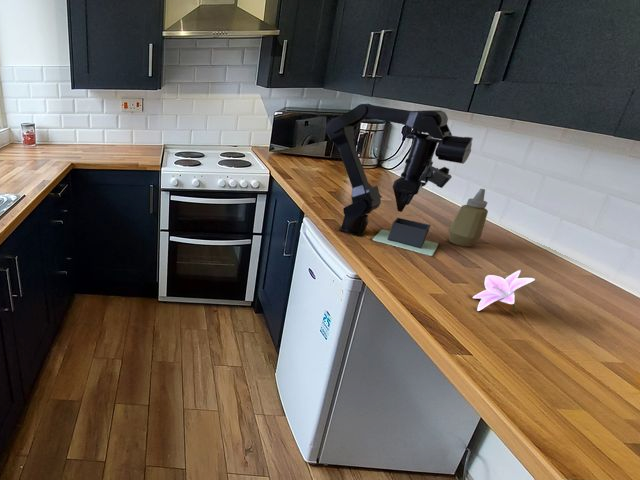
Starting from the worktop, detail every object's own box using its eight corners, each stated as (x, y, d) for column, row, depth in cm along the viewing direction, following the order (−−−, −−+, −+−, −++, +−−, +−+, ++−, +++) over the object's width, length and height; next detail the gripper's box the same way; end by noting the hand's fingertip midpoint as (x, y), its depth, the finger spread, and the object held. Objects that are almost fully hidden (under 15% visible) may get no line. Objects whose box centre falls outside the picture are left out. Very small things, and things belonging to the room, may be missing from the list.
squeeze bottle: (465, 239, 131) (487, 186, 124) (482, 249, 124) (507, 194, 117) (439, 237, 132) (459, 184, 125) (455, 247, 125) (477, 192, 117)
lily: (482, 294, 101) (473, 262, 98) (548, 298, 91) (541, 263, 88) (467, 324, 95) (458, 291, 92) (537, 332, 85) (528, 295, 83)
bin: (387, 239, 128) (393, 222, 125) (391, 234, 132) (397, 217, 129) (420, 248, 122) (427, 230, 120) (424, 242, 126) (430, 225, 124)
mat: (372, 240, 128) (372, 238, 128) (381, 230, 136) (382, 229, 136) (432, 256, 118) (432, 255, 118) (438, 244, 126) (438, 243, 126)
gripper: (450, 166, 103) (429, 222, 109) (459, 156, 116) (439, 207, 122) (401, 159, 110) (384, 212, 116) (414, 150, 122) (398, 199, 129)
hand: (403, 207), depth 121 cm, fingers open, 9 cm apart
